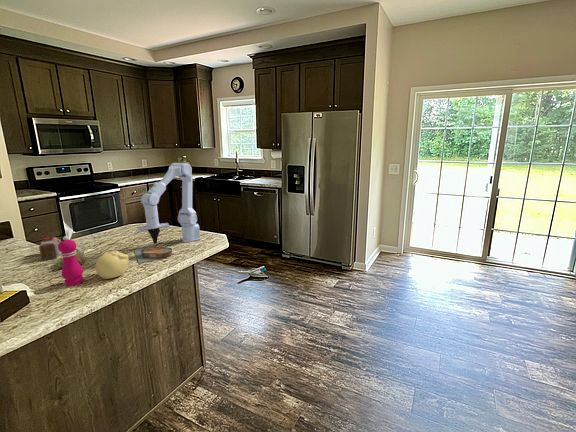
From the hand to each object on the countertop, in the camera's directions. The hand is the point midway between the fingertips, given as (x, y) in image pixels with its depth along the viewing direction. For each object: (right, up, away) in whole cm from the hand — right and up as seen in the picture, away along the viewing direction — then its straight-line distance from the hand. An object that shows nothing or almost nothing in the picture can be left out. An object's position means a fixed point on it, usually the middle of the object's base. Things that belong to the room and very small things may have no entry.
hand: (155, 242), depth 154 cm
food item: (-52, -7, 0) cm, 53 cm away
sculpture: (-8, -12, -24) cm, 28 cm away
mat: (-4, -6, -1) cm, 7 cm away
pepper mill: (-20, -14, -30) cm, 39 cm away
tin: (+2, -4, +2) cm, 5 cm away
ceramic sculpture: (-34, -9, -11) cm, 36 cm away
